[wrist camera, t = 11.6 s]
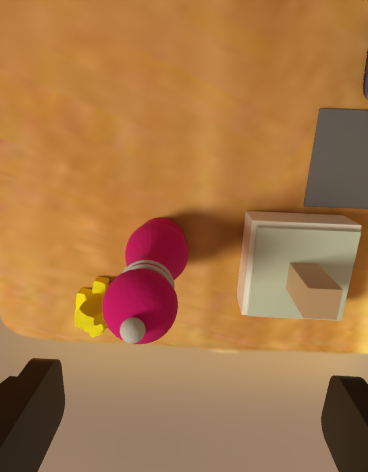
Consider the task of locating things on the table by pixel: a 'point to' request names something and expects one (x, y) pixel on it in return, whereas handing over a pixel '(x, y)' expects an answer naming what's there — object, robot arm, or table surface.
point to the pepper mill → (147, 283)
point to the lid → (301, 272)
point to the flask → (366, 80)
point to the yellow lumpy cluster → (91, 307)
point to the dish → (278, 220)
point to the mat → (339, 160)
